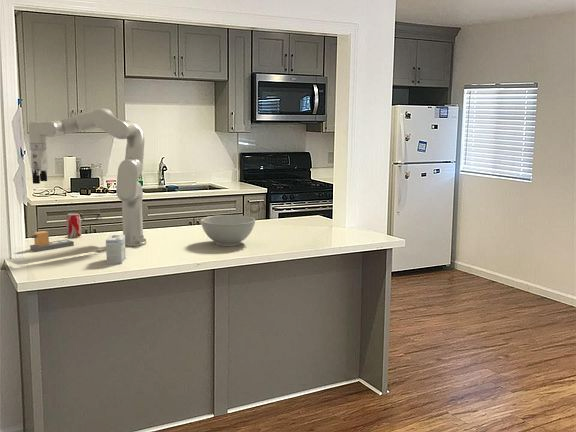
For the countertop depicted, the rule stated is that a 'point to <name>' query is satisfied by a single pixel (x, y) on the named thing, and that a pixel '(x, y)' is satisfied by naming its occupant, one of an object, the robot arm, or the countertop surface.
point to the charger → (41, 238)
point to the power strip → (52, 245)
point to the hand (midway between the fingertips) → (40, 182)
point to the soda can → (73, 225)
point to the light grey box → (115, 249)
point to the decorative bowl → (228, 228)
